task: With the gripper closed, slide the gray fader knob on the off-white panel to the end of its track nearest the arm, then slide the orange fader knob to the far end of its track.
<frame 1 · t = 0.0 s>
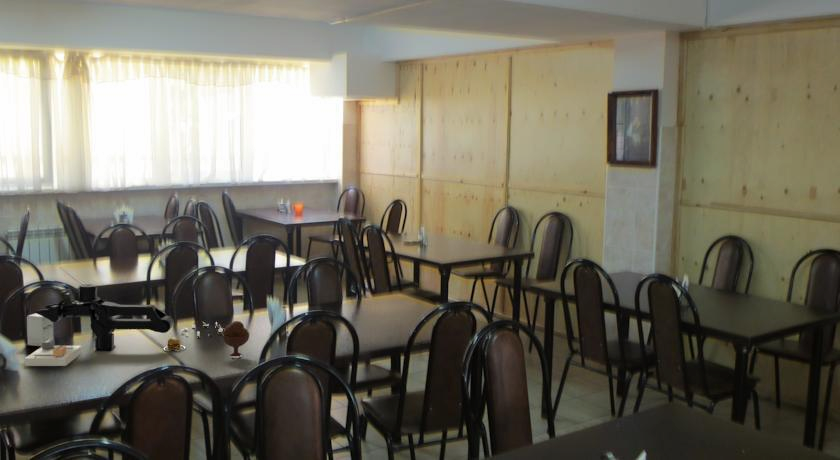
hand: (40, 309, 323), 17 cm above the table, fingers open, 9 cm apart
fader orange: (59, 350, 305), point 5 cm above the table, slide at 0.0 cm
fader panel: (54, 359, 311), on the table
supplement box: (40, 344, 332), on the table
cake on plate: (174, 351, 329), on the table
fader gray: (48, 343, 315), point 5 cm above the table, slide at 8.0 cm
game piece set: (202, 333, 357), on the table
ice cream bowl: (235, 357, 320), on the table
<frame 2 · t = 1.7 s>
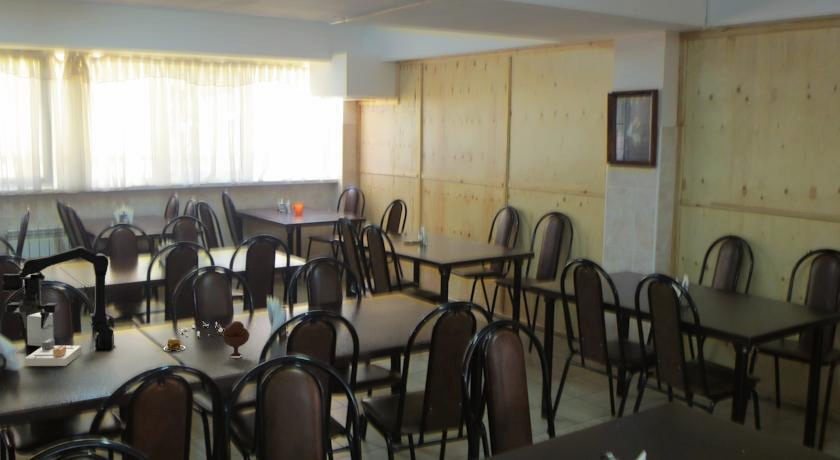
hand: (33, 328, 313), 11 cm above the table, fingers open, 6 cm apart
nothing on the table moved.
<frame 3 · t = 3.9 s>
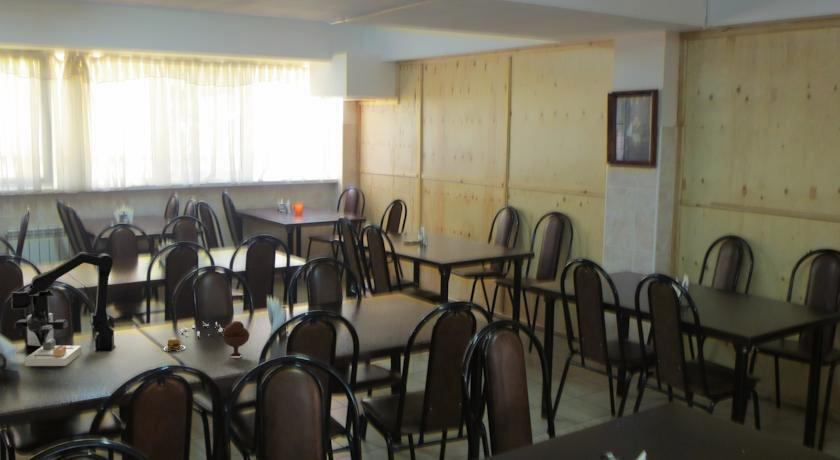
hand: (42, 345, 315), 4 cm above the table, fingers closed
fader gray: (49, 343, 315), point 5 cm above the table, slide at 7.7 cm, touching gripper
everything else where it was.
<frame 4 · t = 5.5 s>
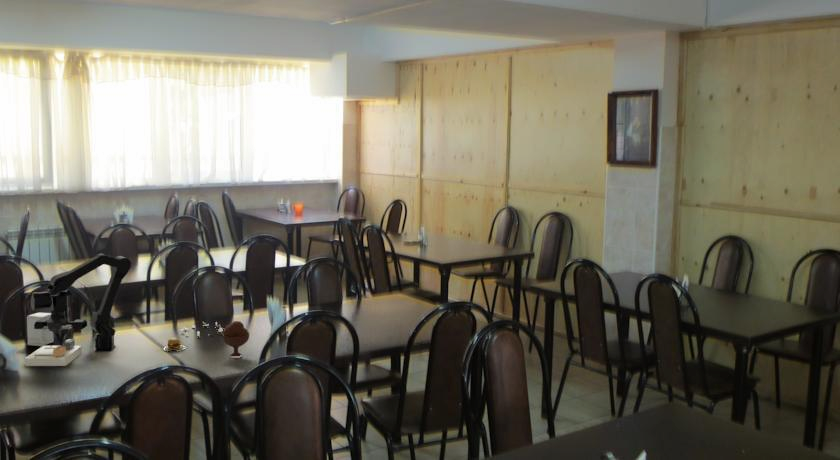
hand: (61, 345, 315), 4 cm above the table, fingers closed
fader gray: (68, 344, 315), point 5 cm above the table, slide at 0.2 cm, touching gripper
everything else where it was.
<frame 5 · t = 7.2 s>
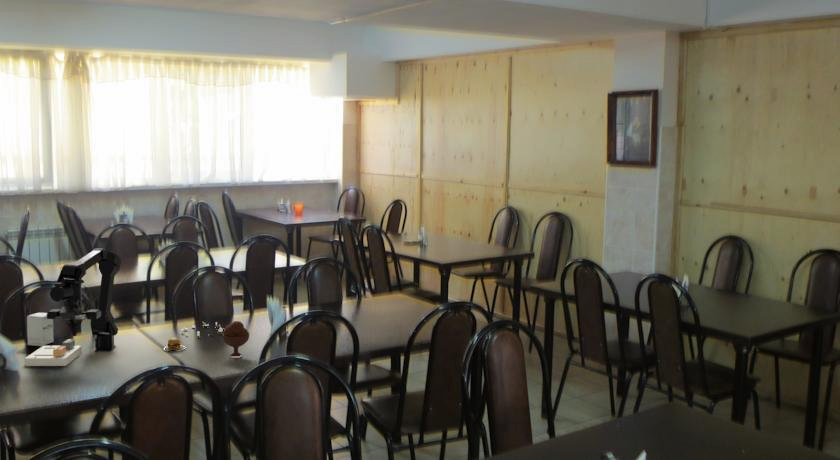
hand: (74, 335, 305), 11 cm above the table, fingers closed
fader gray: (68, 344, 315), point 5 cm above the table, slide at 0.2 cm
everything else where it was.
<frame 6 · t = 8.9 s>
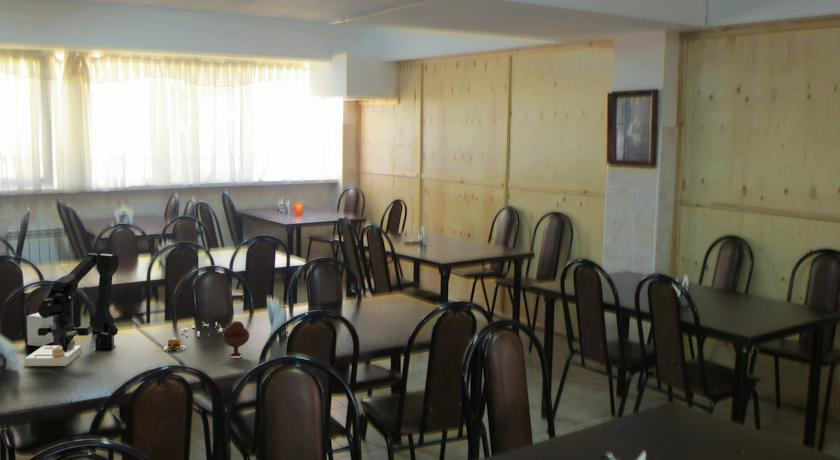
hand: (65, 352, 306), 4 cm above the table, fingers closed
fader orange: (58, 350, 305), point 5 cm above the table, slide at 0.3 cm, touching gripper
everything else where it was.
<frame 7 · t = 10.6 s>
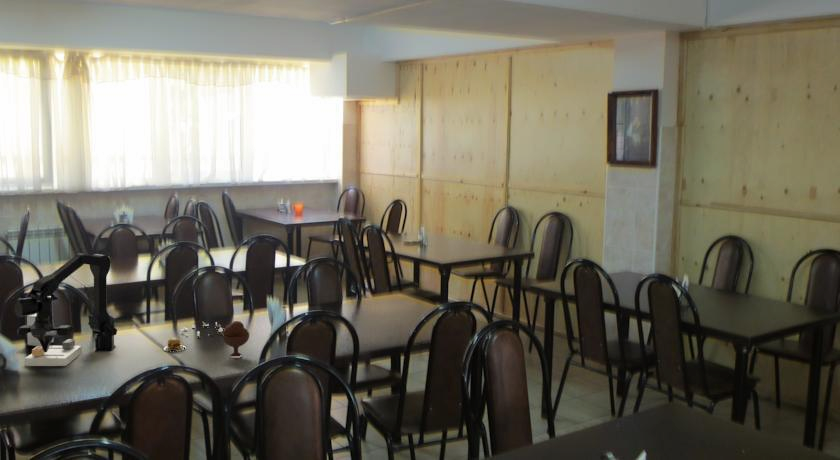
hand: (45, 351, 305), 4 cm above the table, fingers closed
fader orange: (38, 350, 305), point 5 cm above the table, slide at 7.8 cm, touching gripper
everything else where it was.
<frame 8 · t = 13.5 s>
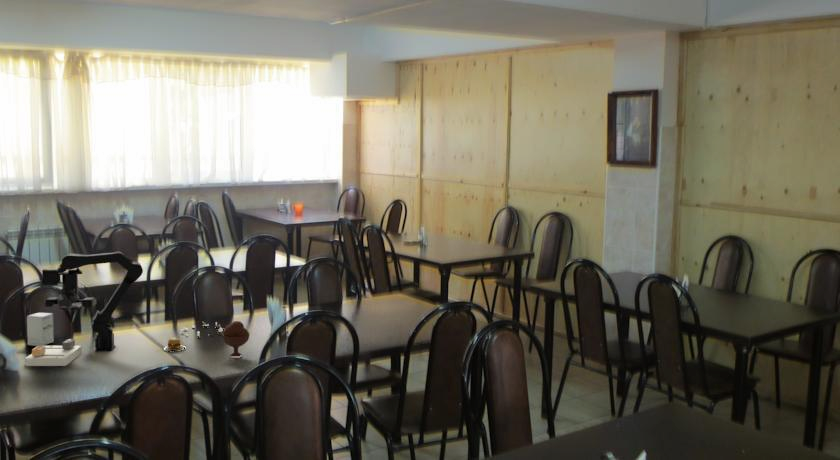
hand: (71, 322, 320), 12 cm above the table, fingers closed
fader orange: (38, 350, 305), point 5 cm above the table, slide at 7.8 cm
at the end: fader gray slide at 0.2 cm; fader orange slide at 7.8 cm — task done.
